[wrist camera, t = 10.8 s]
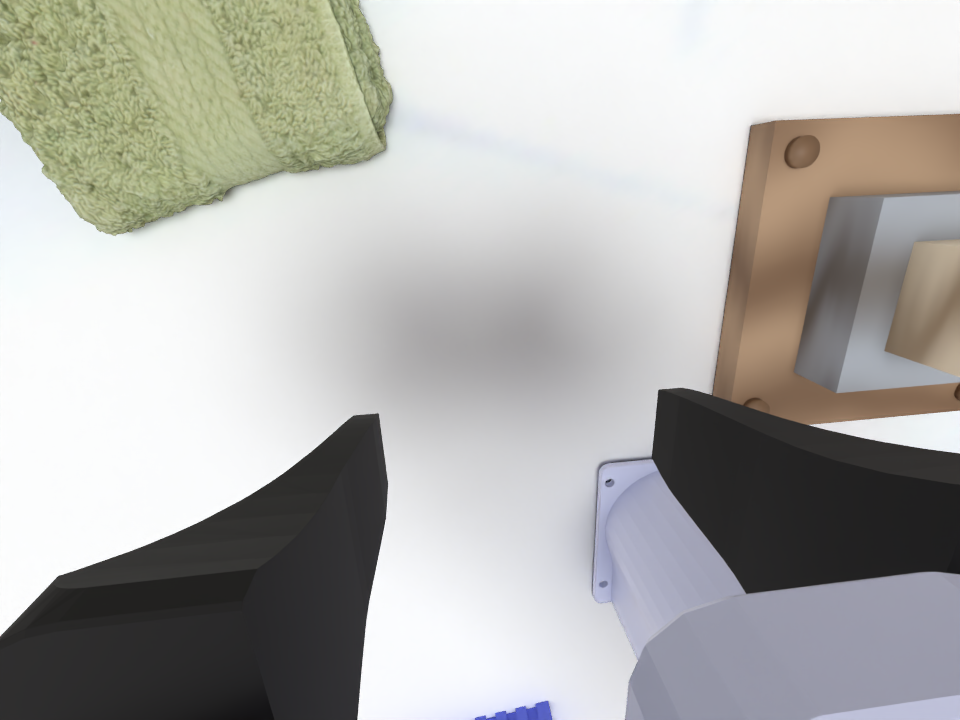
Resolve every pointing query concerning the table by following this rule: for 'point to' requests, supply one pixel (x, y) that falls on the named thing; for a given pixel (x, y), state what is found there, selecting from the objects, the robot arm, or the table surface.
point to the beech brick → (929, 308)
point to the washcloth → (186, 96)
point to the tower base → (790, 253)
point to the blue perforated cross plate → (524, 713)
